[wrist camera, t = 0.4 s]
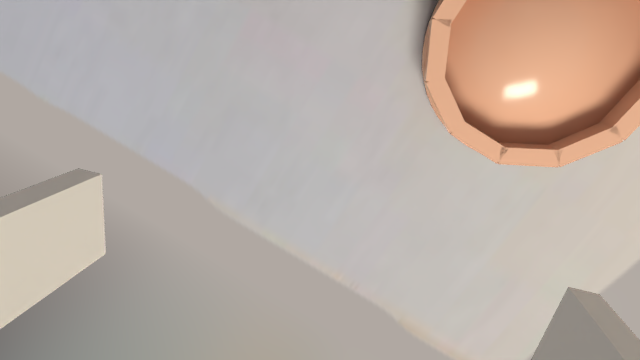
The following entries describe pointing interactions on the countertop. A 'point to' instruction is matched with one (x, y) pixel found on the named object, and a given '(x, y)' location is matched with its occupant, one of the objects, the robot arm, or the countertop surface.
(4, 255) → the robot arm
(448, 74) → the tray
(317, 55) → the countertop surface
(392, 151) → the countertop surface
